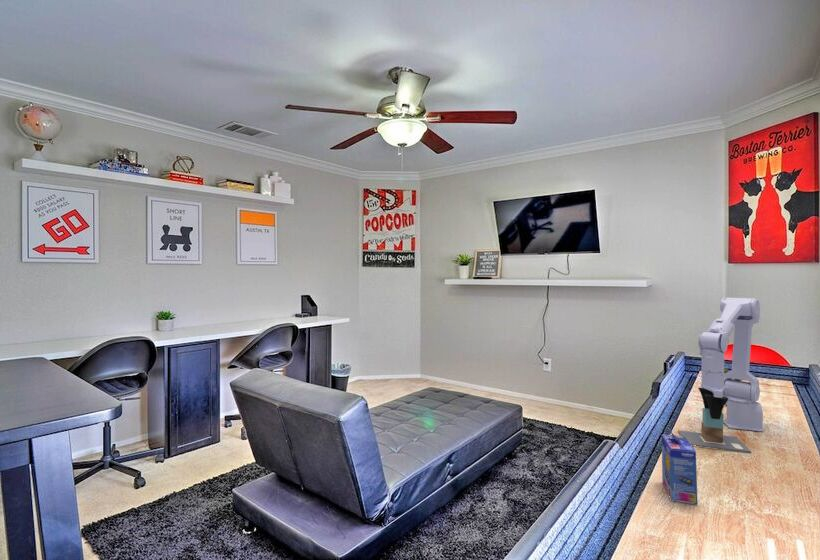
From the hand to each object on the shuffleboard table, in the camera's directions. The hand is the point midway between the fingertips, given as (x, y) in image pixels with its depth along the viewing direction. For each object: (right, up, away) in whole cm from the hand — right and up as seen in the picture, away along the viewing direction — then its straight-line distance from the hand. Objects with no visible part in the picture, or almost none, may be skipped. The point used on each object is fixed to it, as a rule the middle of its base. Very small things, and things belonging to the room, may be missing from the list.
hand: (712, 415), depth 133 cm
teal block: (0, -3, 0) cm, 3 cm away
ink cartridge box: (-30, -9, -31) cm, 44 cm away
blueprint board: (0, -8, 0) cm, 8 cm away
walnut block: (0, -8, 0) cm, 8 cm away
